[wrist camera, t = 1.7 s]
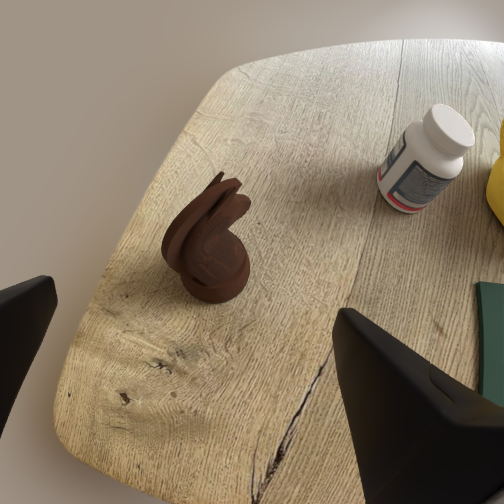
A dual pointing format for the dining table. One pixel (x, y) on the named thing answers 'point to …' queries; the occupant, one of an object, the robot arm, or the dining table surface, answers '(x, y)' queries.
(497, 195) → the teapot
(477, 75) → the dining table surface
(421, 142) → the pill bottle
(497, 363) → the play mat
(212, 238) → the chess piece
